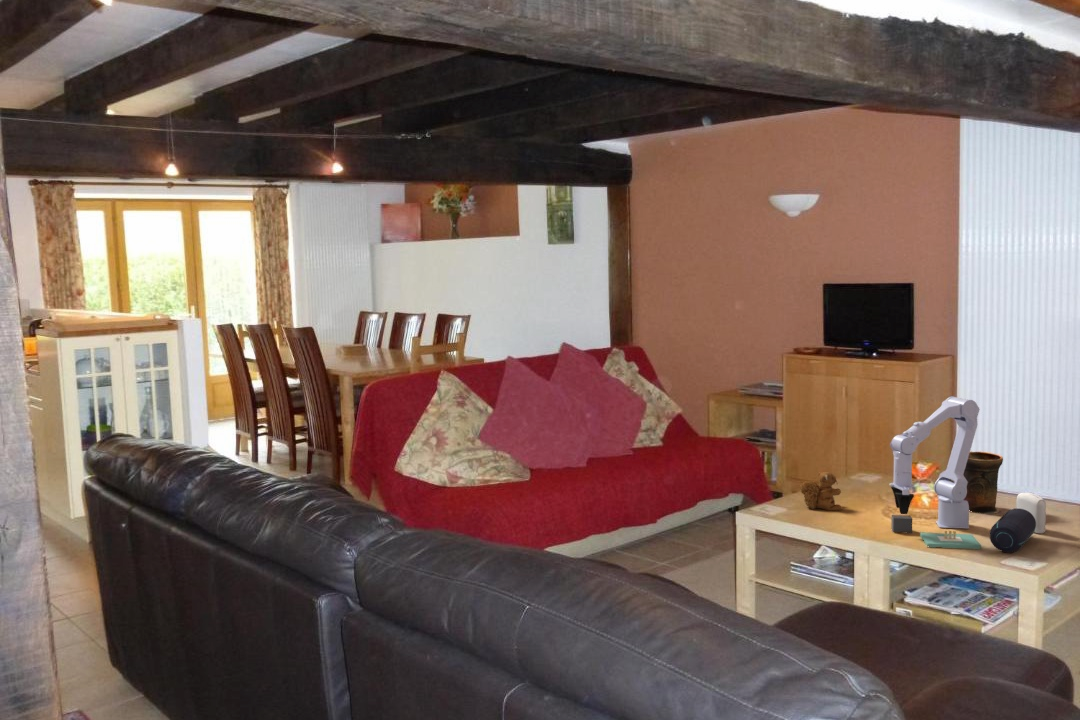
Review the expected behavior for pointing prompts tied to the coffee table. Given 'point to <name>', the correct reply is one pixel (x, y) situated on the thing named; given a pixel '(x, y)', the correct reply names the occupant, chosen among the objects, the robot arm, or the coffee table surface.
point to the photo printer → (1033, 508)
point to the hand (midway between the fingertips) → (901, 510)
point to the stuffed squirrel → (821, 492)
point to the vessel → (982, 481)
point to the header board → (950, 540)
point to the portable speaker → (1012, 530)
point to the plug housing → (901, 523)
